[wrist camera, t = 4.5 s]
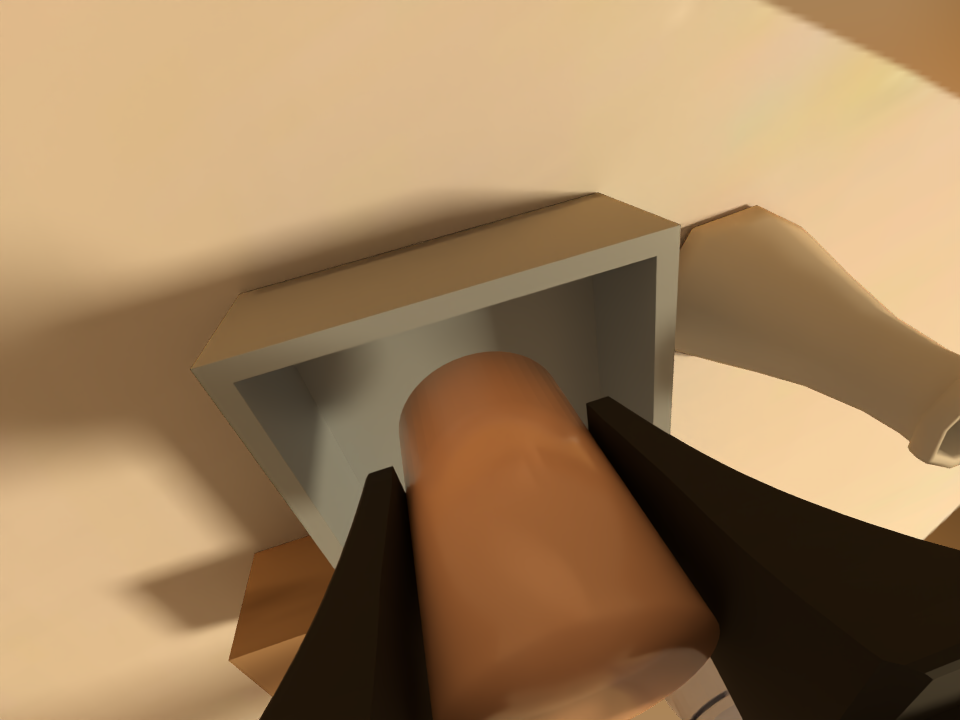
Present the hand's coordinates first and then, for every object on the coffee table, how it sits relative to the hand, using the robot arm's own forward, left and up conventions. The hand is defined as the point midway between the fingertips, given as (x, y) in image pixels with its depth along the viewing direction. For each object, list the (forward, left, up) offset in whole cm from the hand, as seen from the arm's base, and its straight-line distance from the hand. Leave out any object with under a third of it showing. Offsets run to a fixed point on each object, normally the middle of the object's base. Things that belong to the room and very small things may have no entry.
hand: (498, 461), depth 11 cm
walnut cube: (-12, +10, -8) cm, 17 cm away
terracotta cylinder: (0, 0, -2) cm, 2 cm away
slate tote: (-5, 0, -8) cm, 9 cm away
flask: (-2, -13, -8) cm, 15 cm away
